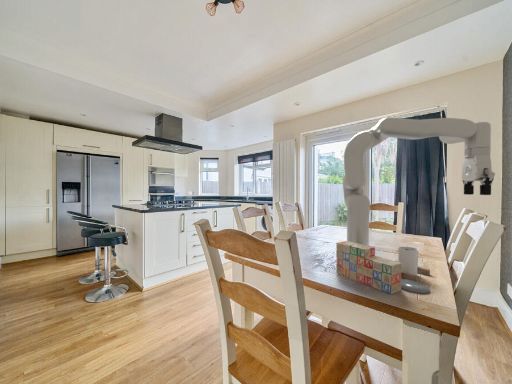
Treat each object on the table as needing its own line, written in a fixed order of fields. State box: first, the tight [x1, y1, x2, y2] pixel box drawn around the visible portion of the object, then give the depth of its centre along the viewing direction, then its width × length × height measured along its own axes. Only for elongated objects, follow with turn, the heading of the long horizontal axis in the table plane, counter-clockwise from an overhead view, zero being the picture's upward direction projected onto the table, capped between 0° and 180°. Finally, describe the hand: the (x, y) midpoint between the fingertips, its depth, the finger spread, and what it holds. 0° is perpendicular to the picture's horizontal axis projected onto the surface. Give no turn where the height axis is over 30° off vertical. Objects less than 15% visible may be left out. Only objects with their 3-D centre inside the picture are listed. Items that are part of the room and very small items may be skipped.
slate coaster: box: [401, 278, 430, 295], centre depth 72 cm, size 9×9×1 cm
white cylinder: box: [397, 245, 420, 276], centre depth 84 cm, size 7×7×10 cm
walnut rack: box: [396, 260, 431, 282], centre depth 85 cm, size 12×13×2 cm
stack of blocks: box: [335, 240, 402, 295], centre depth 78 cm, size 21×6×12 cm, turn 29°
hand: (476, 194), depth 89 cm, fingers open, 9 cm apart
